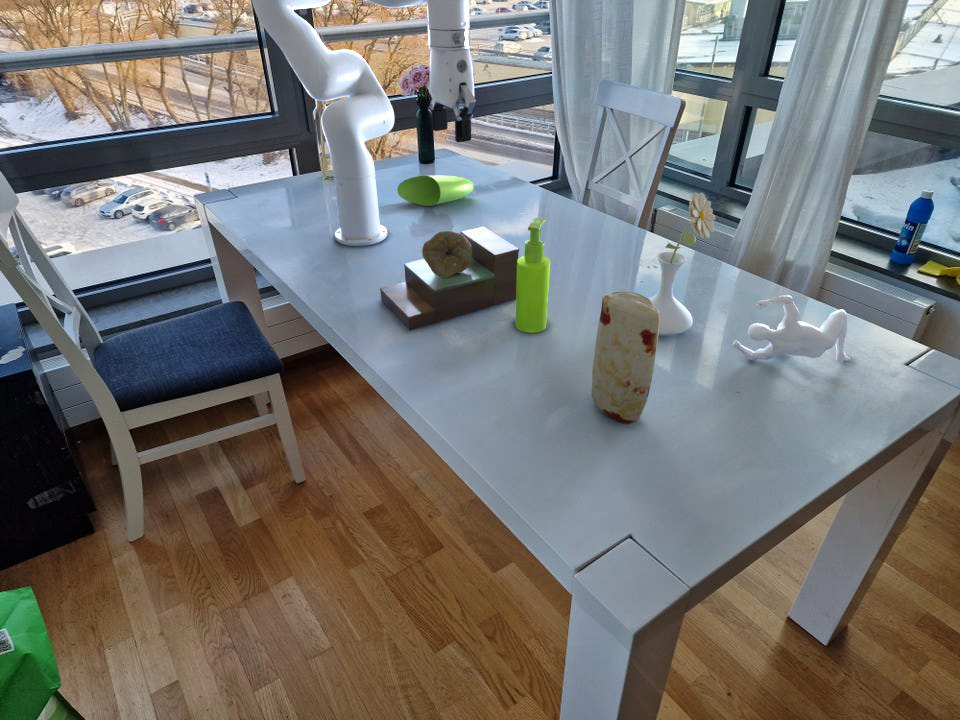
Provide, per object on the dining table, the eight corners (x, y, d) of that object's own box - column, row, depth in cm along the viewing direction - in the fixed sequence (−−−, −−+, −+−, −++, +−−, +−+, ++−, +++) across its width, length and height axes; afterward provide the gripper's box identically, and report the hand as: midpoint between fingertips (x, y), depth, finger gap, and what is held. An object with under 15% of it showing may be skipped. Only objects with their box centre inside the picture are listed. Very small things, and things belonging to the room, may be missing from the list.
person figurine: (818, 278, 110) (763, 289, 100) (883, 322, 103) (831, 339, 93) (777, 336, 118) (722, 352, 108) (835, 380, 111) (782, 402, 101)
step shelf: (381, 301, 127) (375, 250, 121) (483, 274, 137) (483, 226, 131) (409, 331, 117) (405, 277, 111) (517, 299, 127) (519, 248, 121)
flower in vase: (656, 347, 112) (680, 212, 98) (616, 319, 120) (633, 190, 107) (710, 329, 117) (741, 198, 103) (668, 303, 125) (692, 179, 112)
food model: (578, 406, 98) (590, 292, 87) (606, 389, 102) (620, 277, 90) (628, 437, 92) (648, 318, 81) (656, 418, 95) (679, 302, 84)
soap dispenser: (551, 317, 121) (557, 217, 110) (542, 335, 116) (548, 232, 105) (521, 312, 123) (525, 213, 112) (511, 329, 117) (514, 228, 106)
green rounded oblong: (415, 179, 162) (482, 172, 171) (396, 175, 172) (460, 169, 181) (417, 210, 165) (483, 202, 174) (398, 205, 174) (461, 197, 184)
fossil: (414, 244, 118) (455, 221, 122) (410, 254, 122) (450, 231, 126) (442, 282, 118) (482, 258, 122) (437, 291, 122) (476, 267, 126)
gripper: (490, 43, 111) (490, 143, 120) (445, 32, 123) (447, 123, 133) (453, 46, 108) (455, 148, 117) (410, 35, 120) (415, 128, 130)
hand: (451, 135), depth 125 cm, fingers open, 9 cm apart
